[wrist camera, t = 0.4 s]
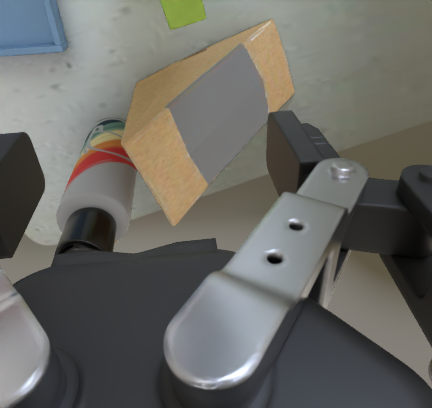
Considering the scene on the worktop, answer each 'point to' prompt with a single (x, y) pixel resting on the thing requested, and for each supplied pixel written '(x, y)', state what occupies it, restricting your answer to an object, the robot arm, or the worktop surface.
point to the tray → (30, 27)
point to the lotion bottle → (98, 193)
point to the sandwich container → (204, 114)
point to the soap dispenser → (183, 12)
